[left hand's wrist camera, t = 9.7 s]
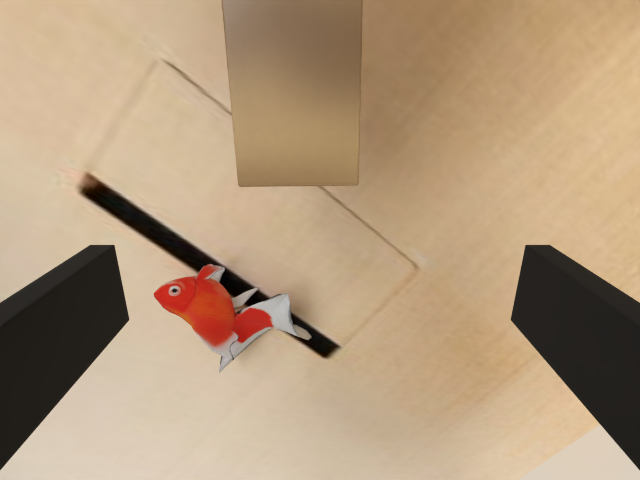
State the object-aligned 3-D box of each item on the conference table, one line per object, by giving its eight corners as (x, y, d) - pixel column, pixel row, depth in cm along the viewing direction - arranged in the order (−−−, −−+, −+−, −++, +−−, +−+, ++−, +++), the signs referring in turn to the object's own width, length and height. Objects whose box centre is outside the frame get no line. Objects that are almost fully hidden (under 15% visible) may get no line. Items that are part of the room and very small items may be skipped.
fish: (215, 211, 34) (198, 314, 28) (330, 277, 43) (336, 365, 37) (151, 261, 39) (125, 356, 33) (266, 310, 49) (262, 391, 43)
